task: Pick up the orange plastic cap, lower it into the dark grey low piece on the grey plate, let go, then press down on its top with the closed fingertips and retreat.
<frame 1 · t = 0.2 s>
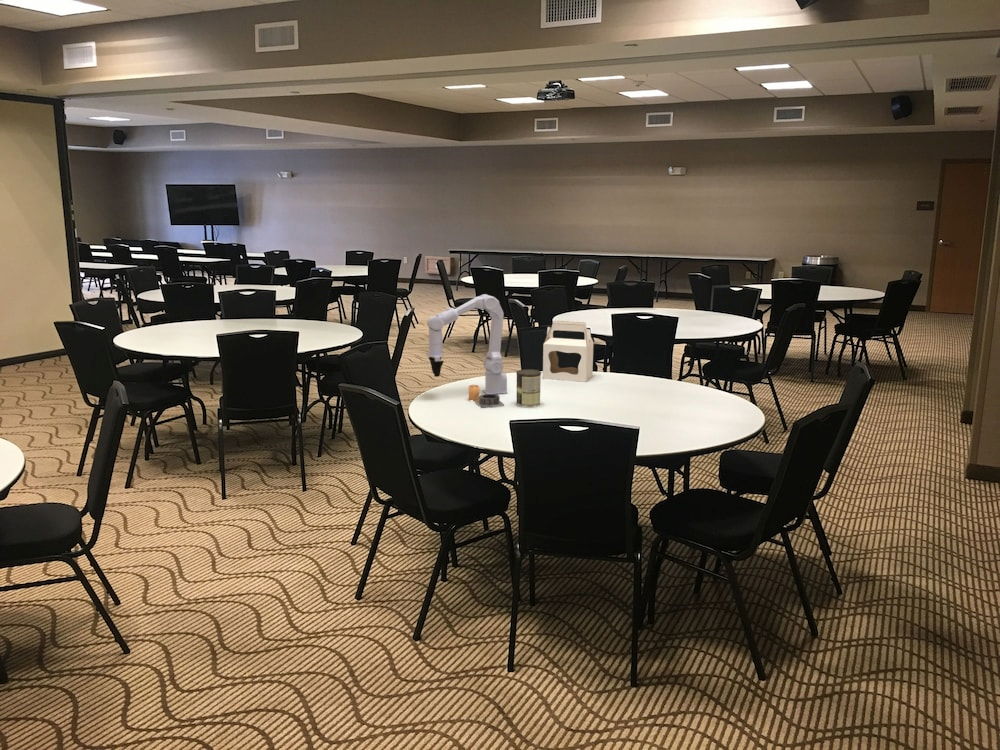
hand: (436, 374, 335), 10 cm above the table, tool pointing down, fingers open, 7 cm apart
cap: (474, 399, 332), on the table
coffee can: (528, 404, 325), on the table
dark grey low piece: (489, 404, 324), on the table
gable box: (567, 378, 378), on the table
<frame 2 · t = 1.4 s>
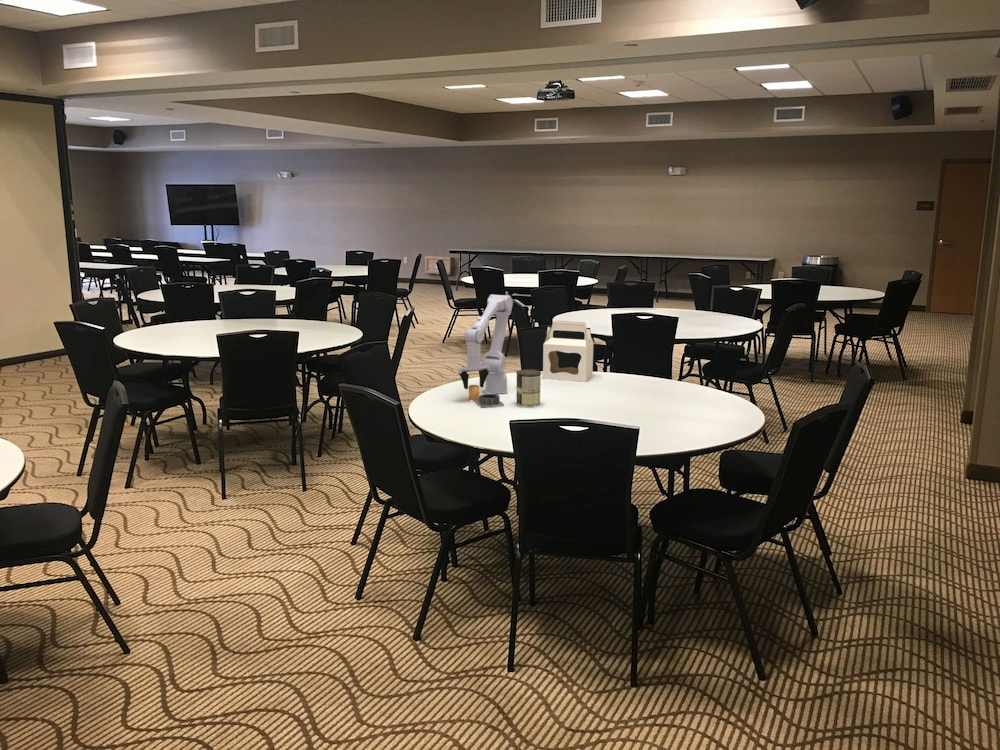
hand: (473, 387, 331), 5 cm above the table, tool pointing down, fingers open, 7 cm apart
nothing on the table moved.
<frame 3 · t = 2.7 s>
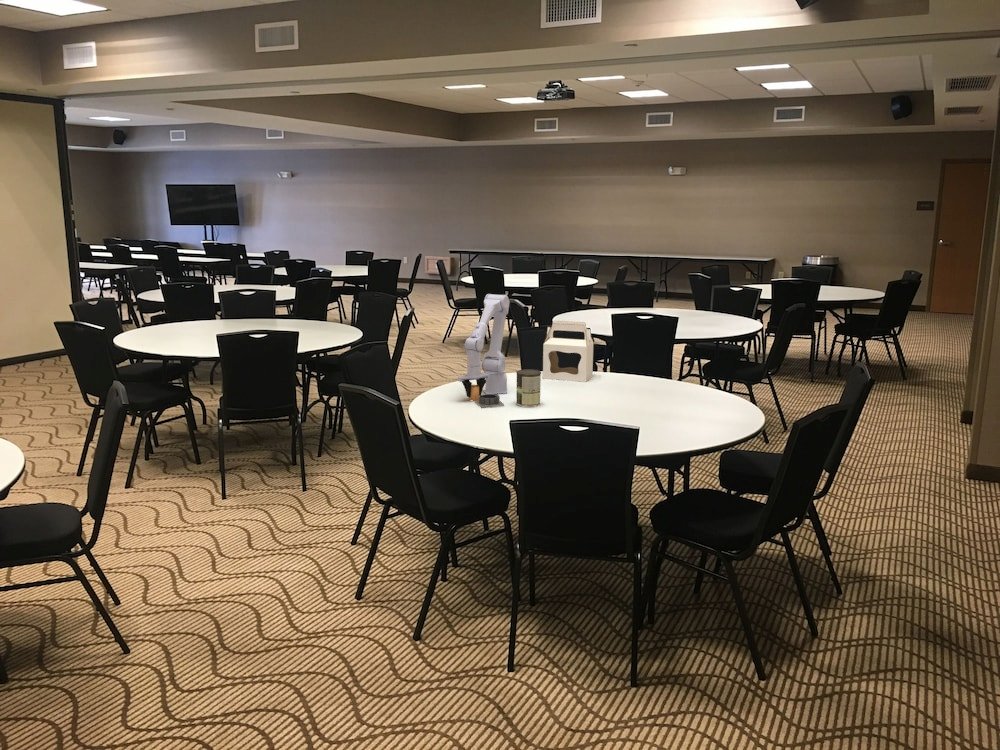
hand: (474, 396, 332), 2 cm above the table, tool pointing down, fingers closed on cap, 4 cm apart
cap: (474, 399, 332), on the table, touching gripper
everything else where it was.
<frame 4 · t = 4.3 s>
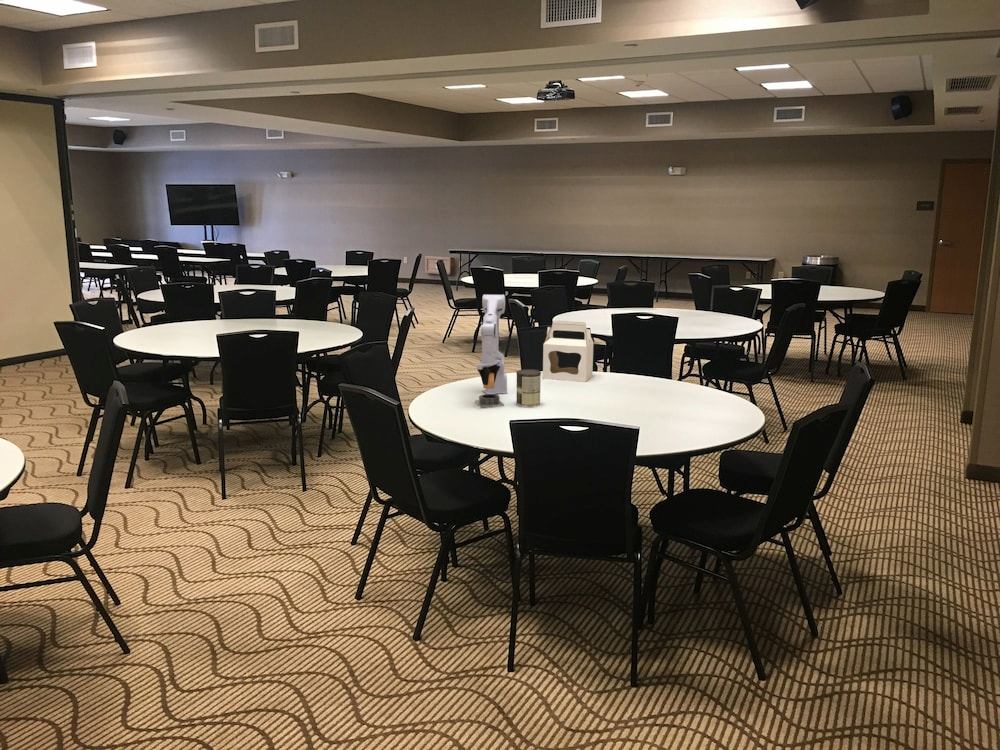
hand: (488, 383, 322), 9 cm above the table, tool pointing down, fingers closed on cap, 4 cm apart
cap: (488, 387, 323), point 7 cm above the table, touching gripper
everything else where it was.
when the fingers open (4 cm above the table, at t = 6.2 s): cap drops 1 cm, resting on dark grey low piece.
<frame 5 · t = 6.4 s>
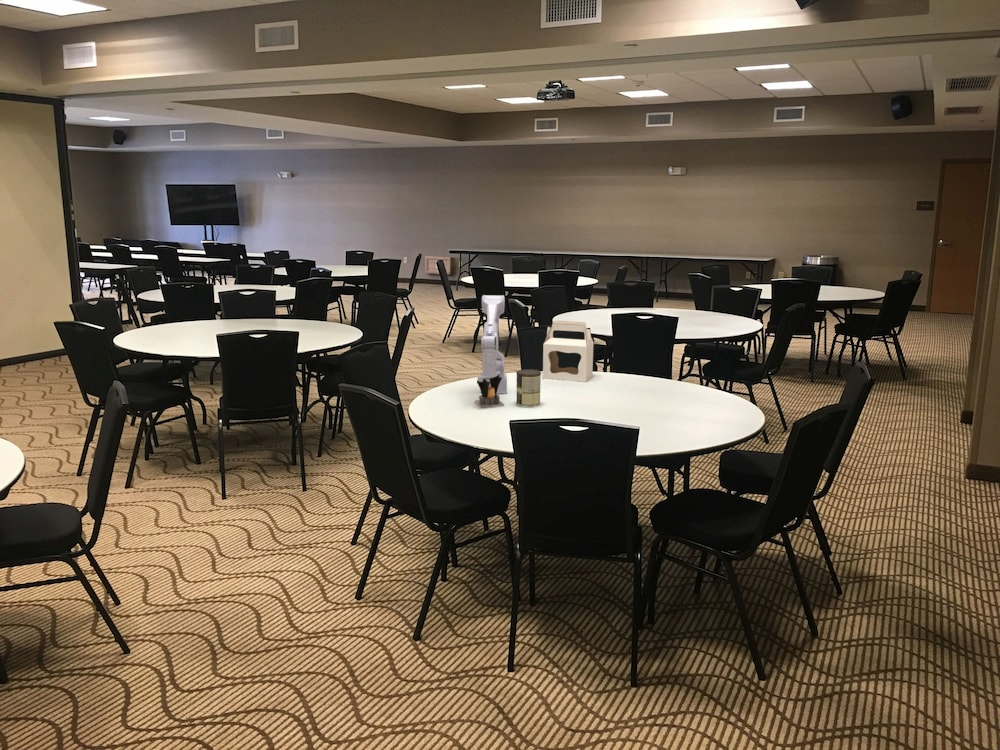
hand: (489, 395, 323), 4 cm above the table, tool pointing down, fingers open, 6 cm apart
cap: (489, 402, 324), point 1 cm above the table, touching dark grey low piece
everything else where it was.
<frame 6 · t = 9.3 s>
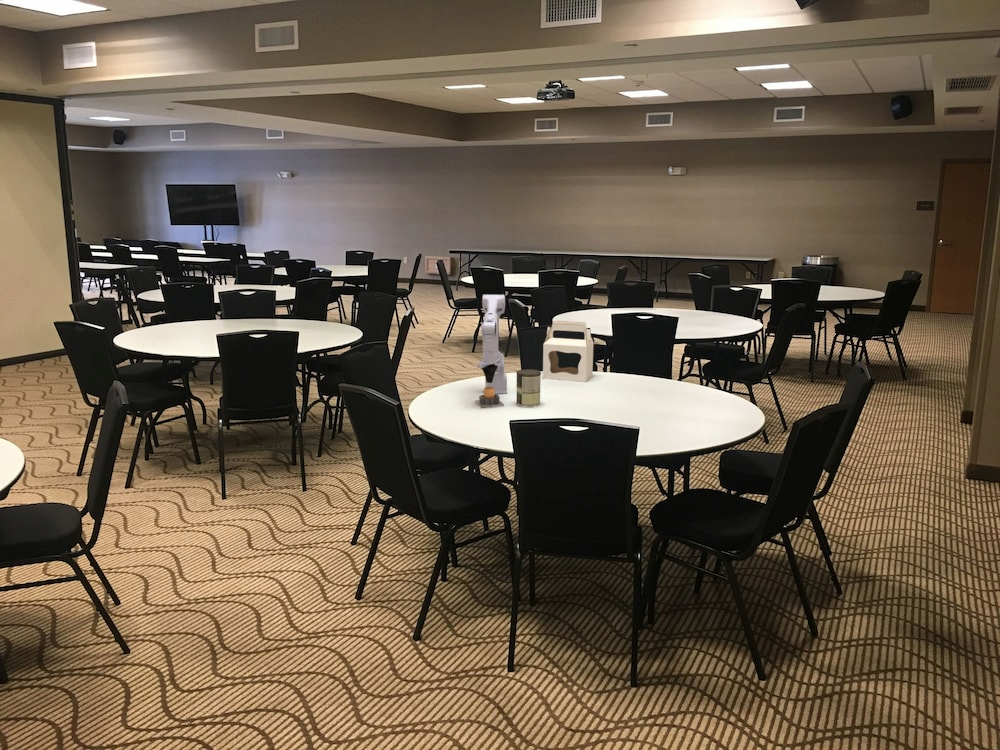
hand: (489, 382, 322), 10 cm above the table, tool pointing down, fingers closed
nothing on the table moved.
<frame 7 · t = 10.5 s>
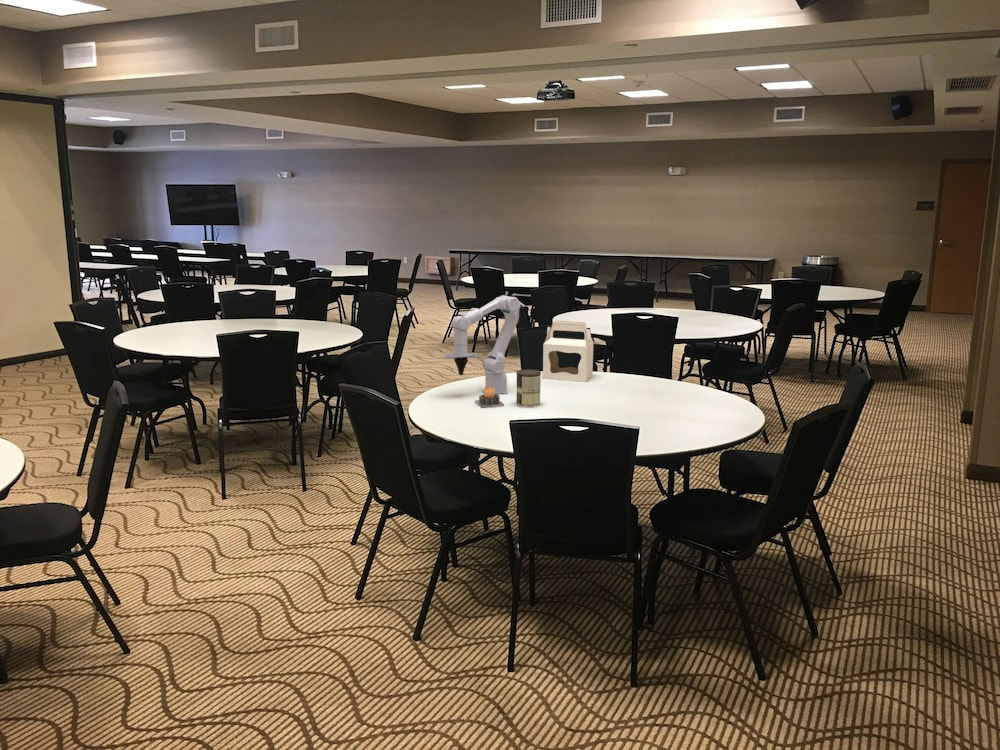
hand: (460, 374, 335), 10 cm above the table, tool pointing down, fingers closed
nothing on the table moved.
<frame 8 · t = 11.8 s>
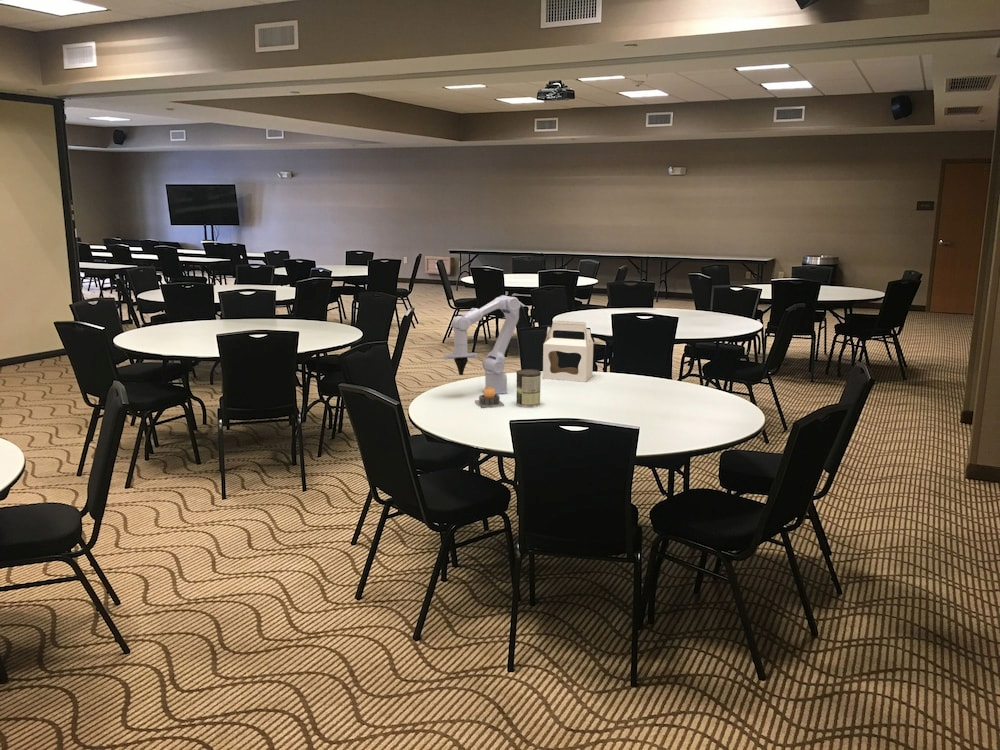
hand: (460, 374, 335), 10 cm above the table, tool pointing down, fingers closed
nothing on the table moved.
at the end: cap 0.0 cm off-centre on the dark grey low piece, point 1.0 cm above the dark grey low piece's base; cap tilted 0°; the gripper is holding nothing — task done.
